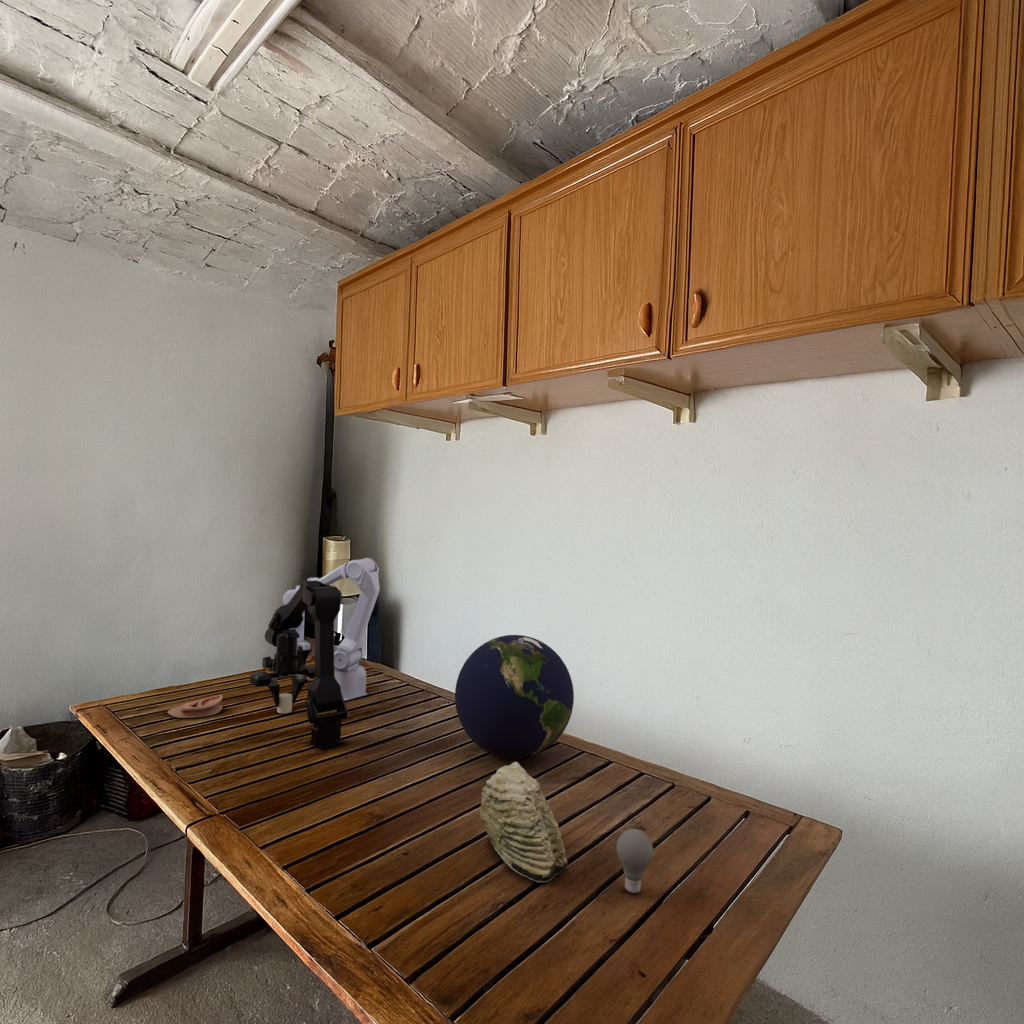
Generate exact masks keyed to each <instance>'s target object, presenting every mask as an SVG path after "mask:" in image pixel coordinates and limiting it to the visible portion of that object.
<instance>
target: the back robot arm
mask: <svg viewBox="0 0 1024 1024" xmlns="http://www.w3.org/2000/svg"><path fill="white" fill-rule="evenodd" d="M379 571H380V568H379V566H378V565H377V563H376V561H375V560H374V559H372V558H371V557H363V558H360V559H352V560H350V561H349V562H346V563H343V564H341V565H340V566H338V567H336V568H335V569H333V570H331V571H330V572H328V573H327V574H325V575H324V576H322V577H320V578H319V577H316V576H315V577H309V578H307V580H306V581H315V580H318V581H320V582H322V583H324V584H327V585H331V586H332V585H333V584H335V583H336V582H338V581H341V580H342V579H349V580H351V582H352V583H353V584H355V586H357V587H358V590H359V591H360V594H359V596H358V599H357V601H356V604H355V608H354V611H353V614H352V616H351V619H350V622H349V625H348V628H347V631H346V634H345V636H344V638H343V640H342V641H341V642H340V643H339V645H338V647H337V649H336V650H335V651H334V677H335V679H336V680H337V682H338V683H339V685H340V686H341V693H342V696H343V699H344V702H346V701H350V700H353V699H358V698H361V697H364V696H368V693H367V692H366V691H367V671H366V668H364V667H363V666H362V665H360V662H361V661H362V660H363V656H364V654H363V648H364V642H363V639H364V635H365V633H366V630H367V627H368V624H369V621H370V618H371V615H372V613H373V611H374V607H375V605H376V602H377V599H378V596H379V593H380V590H381V589H380V588H381V587H380V579H379ZM299 588H300V584H297V585H295V589H288V590H287V591H286V592H285V593H283V595H282V603H283V605H286V604H288V603H289V601H290V600H291V599H292V597H293V596H294V595H295V593H296V592H297V591H298V589H299ZM305 612H306V610H305V611H304V612H303V617H304V619H303V621H302V623H301V625H300V626H299V627H297V628H293V629H296V631H297V633H299V636H300V637H299V638H298V643H297V655H298V656H299V659H297V669H298V670H300V667H301V666H304V665H306V663H307V660H308V657H309V655H310V654H311V652H312V648H311V643H309V642H308V641H306V639H304V638H305Z"/></svg>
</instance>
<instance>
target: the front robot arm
mask: <svg viewBox="0 0 1024 1024" xmlns="http://www.w3.org/2000/svg"><path fill="white" fill-rule="evenodd" d="M299 585H300V588H299V589H298V591H297V592H296V593H295V595H294V596H293V597H292V599H291V600H290V601H289V603H288V604H286V605H284V604H283V605H281V606H278V608H276V610H275V611H274V613H273V614H272V617H271V619H270V621H269V623H268V624H267V627H268V628H267V629H266V631H265V633H264V640H265V642H266V643H268V644H270V645H271V646H273V647H275V648H276V649H275V651H276V652H275V653H274V657H273V658H272V657H271V656H264V657H262V661H261V664H262V669H264V670H263V671H257V672H255V671H254V672H252V673H251V674H250V675H249V683H250V684H251V685H253V686H254V687H256V688H261V687H267V688H268V689H269V691H270V693H271V697H272V699H273V703H274V706H275V707H276V708H277V707H278V705H279V695H280V689H281V685H280V684H279V683H278V680H286V679H291V682H292V684H291V694H292V705H294V704H295V702H296V700H297V699H298V696H299V694H300V693H301V691H302V689H303V688H304V686H305V684H306V683H308V682H309V679H311V680H312V681H311V682H309V683H308V685H307V697H306V701H305V705H306V714H307V720H308V723H309V724H312V727H311V730H310V731H311V732H310V733H311V735H310V739H309V740H308V743H309V744H310V745H313V746H314V747H316V748H318V749H320V750H327V749H329V748H333V747H336V746H340V745H343V744H344V743H345V741H344V740H343V739H341V737H342V735H341V733H342V720H346V719H347V718H348V714H349V712H348V708H347V705H346V701H344V699H343V696H342V693H341V686H340V685H339V683H338V682H337V680H336V679H335V667H334V653H335V620H336V618H337V616H338V615H339V613H340V611H341V606H342V605H341V602H342V601H343V595H342V592H341V590H340V589H338V587H337V586H334V585H332V584H331V585H327V584H324V583H322V582H320V581H318V580H315V581H308V580H304V581H302V582H300V584H299ZM306 610H307V611H308V613H309V615H310V616H311V618H312V619H313V621H314V664H305V665H304V666H301V667H300V670H298V669H297V659H299V656H298V655H297V649H298V647H297V643H298V638H299V637H300V636H299V633H297V631H296V629H293V628H297V627H299V626H300V625H301V623H302V621H303V619H304V620H305V616H304V617H303V612H304V611H305V612H306ZM266 669H268V672H273V673H268V672H267V671H265V670H266ZM307 677H308V678H309V679H307ZM332 711H333V712H332ZM322 713H323V714H322Z"/></svg>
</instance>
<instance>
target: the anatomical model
mask: <svg viewBox="0 0 1024 1024" xmlns="http://www.w3.org/2000/svg"><path fill="white" fill-rule="evenodd" d="M223 698H224V696H223V695H222V694H219V695H218V694H217V695H215V696H214V695H213V696H209V697H206V698H202V699H198V700H195V701H191V702H186V703H183V704H182V705H181V704H180V705H178V706H175V707H173V708H171V709H169V710H168V711H167V714H168V715H170V716H172V717H174V718H179V719H194V718H203V717H204V718H205V717H208V716H213V715H217V714H218V713H220V712H221V711H222V710H223V706H222V705H221V702H222V700H223Z"/></svg>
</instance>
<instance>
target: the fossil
mask: <svg viewBox="0 0 1024 1024" xmlns="http://www.w3.org/2000/svg"><path fill="white" fill-rule="evenodd" d="M479 819H480V820H481V822H482V823H483V827H484V829H485V832H486V833H487V836H488V838H489V840H490V842H491V844H492V845H493V848H494V850H495V852H496V853H497V854H498V856H500V858H501V859H502V861H503V862H504V863H505V864H506V865H507V867H509V868H510V869H511V870H513V871H514V873H517V874H519V875H520V876H522V877H525V878H527V879H528V880H531V881H533V882H536V883H548V882H550V881H552V880H553V879H554V878H555V877H556V876H557V875H560V874H561V873H563V872H564V871H565V870H566V868H567V867H568V866H569V863H568V859H567V856H566V848H565V847H564V841H563V838H562V834H561V831H560V826H559V824H558V822H557V821H556V818H555V817H554V813H553V811H552V810H551V807H550V805H549V803H548V802H547V799H546V796H545V794H544V790H543V789H542V786H541V784H540V781H539V780H537V779H535V778H533V777H532V776H531V775H529V773H528V772H527V771H526V769H524V768H523V766H521V764H520V763H519V762H518V761H513V762H512V763H511V764H509V765H507V764H506V765H504V766H502V767H500V768H498V769H497V770H496V772H495V773H494V774H492V775H491V776H490V778H489V779H487V780H486V782H485V786H483V788H482V792H481V802H480V808H479Z"/></svg>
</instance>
